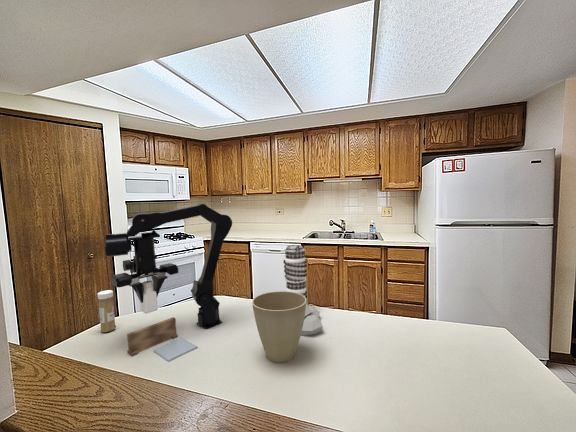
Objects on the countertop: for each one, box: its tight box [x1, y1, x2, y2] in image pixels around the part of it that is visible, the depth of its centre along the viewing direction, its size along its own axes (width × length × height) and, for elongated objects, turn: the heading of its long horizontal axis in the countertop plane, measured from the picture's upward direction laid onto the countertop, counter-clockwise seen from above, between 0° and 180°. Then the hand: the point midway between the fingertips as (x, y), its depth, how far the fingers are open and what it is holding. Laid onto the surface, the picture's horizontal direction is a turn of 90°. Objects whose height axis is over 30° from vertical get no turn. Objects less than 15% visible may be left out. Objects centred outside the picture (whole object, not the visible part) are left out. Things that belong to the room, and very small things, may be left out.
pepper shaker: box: [139, 280, 158, 314], centre depth 91 cm, size 4×4×10 cm
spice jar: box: [97, 289, 117, 333], centre depth 98 cm, size 5×5×13 cm
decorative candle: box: [283, 244, 308, 304], centre depth 111 cm, size 9×9×25 cm
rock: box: [301, 302, 323, 336], centre depth 97 cm, size 18×20×10 cm
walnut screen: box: [126, 317, 179, 357], centre depth 87 cm, size 14×3×6 cm, turn 140°
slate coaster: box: [152, 337, 198, 363], centre depth 84 cm, size 9×9×1 cm
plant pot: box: [251, 290, 308, 363], centre depth 78 cm, size 15×15×16 cm
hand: (148, 300), depth 91 cm, fingers closed on pepper shaker, 4 cm apart
